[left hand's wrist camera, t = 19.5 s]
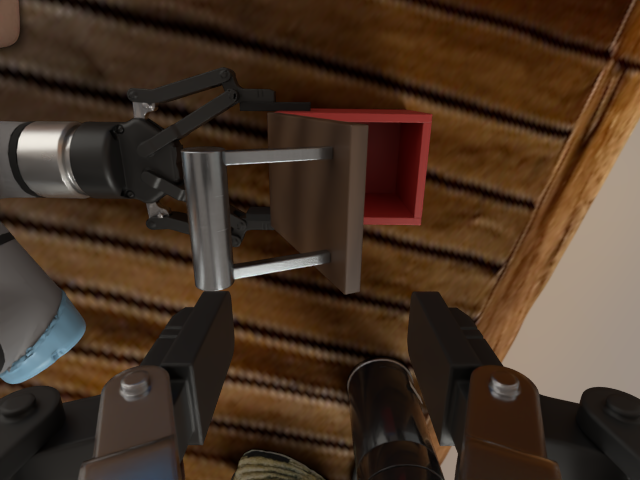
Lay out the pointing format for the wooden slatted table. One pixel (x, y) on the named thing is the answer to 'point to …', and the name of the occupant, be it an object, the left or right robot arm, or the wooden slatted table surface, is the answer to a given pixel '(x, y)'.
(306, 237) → the lid
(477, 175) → the wooden slatted table surface
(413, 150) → the chest
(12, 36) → the anatomical model
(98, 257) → the wooden slatted table surface
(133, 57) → the wooden slatted table surface
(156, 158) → the right robot arm
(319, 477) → the fossil
